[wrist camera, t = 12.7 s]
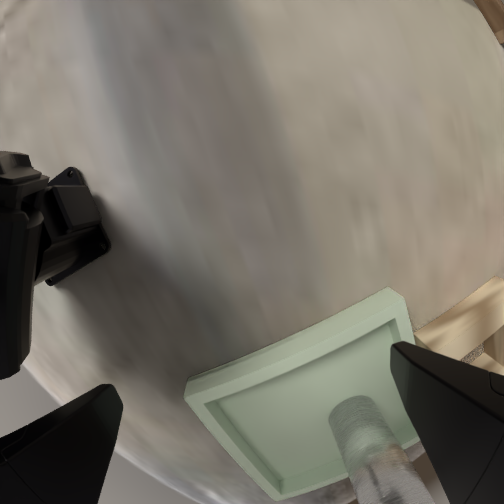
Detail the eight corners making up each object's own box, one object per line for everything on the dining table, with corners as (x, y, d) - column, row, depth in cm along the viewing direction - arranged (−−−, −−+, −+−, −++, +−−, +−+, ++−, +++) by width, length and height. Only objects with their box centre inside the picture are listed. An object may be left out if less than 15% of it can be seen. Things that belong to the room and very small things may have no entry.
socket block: (427, 408, 23) (443, 429, 20) (412, 333, 21) (435, 353, 18) (498, 355, 23) (517, 370, 19) (494, 275, 21) (520, 286, 17)
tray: (273, 483, 24) (275, 501, 22) (188, 378, 21) (183, 397, 19) (419, 419, 23) (430, 434, 21) (387, 286, 20) (404, 297, 18)
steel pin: (336, 438, 22) (381, 557, 9) (321, 410, 21) (371, 545, 9) (379, 417, 22) (442, 526, 9) (369, 387, 21) (444, 508, 8)
